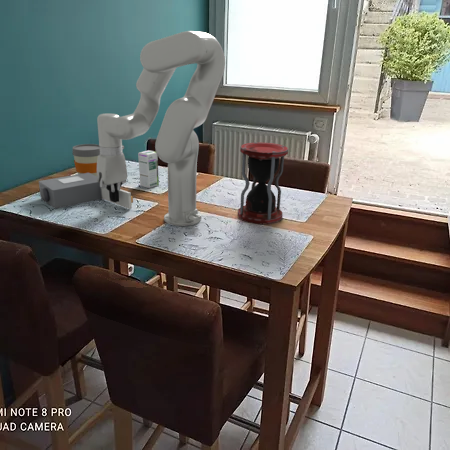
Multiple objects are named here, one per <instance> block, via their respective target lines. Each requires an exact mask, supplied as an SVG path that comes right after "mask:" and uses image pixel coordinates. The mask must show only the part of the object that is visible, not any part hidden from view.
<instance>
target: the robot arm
mask: <svg viewBox="0 0 450 450" xmlns="http://www.w3.org/2000/svg"><path fill="white" fill-rule="evenodd" d="M139 55H140V56H139V59H140V63H141V65H142V67H143V68H142V71H141V72H140V75H139V77H138V78H137V80H136V84H135V85H136V86H135V87H136V89H137V90H138V91H139V92H140V97H139V98H140V99H139V102H138V104H137V105H136V108H135V109H134V111H133V113H130V114H126V115H122V116H120V115H118V114H116V113H106V112H105V113H100V114H98V116H97V119H96V120H97V133H98V145H99V147H100V155H98V159H97V181H98V182H99V183H100V188H103V189H107V190H108V191H109V197H110V201H112V202H119V190H120V189H121V188H122V186H123V185H124V184H126V183H127V179H128V169H127V160H126V157H125V154H124V152H123V150H124V149H125V146H124V145H123V141H124V140H125V141H126V140H127V141H128V140H131V139H132V140H133V139H134V138H136V137H140V136H142V135H144V134H146V133H147V132H148V131H149V129H150V128H151V126H152V124H153V122H154V121H155V119H156V117H157V115H158V112H159V110H160V105H161V98H162V95H163V93H164V92H165V89H166V88H167V86H168V83H169V82H170V80H171V78H172V77H173V75H174V74H175V71H176V69H177V68H180V67H184V66H188V65H193V64H197V65H196V69H195V70H194V72H193V74H192V76H191V78H190V80H189V83H188V86H187V89H186V91H185V93H184V95H183V97H180V98H177V99H175V100H174V101H172V102H171V103H170V105H169V106H168V107H167V109H166V111H165V114H164V117H163V120H162V122H161V126H160V128H159V130H158V134H157V137H156V139H155V144H154V145H155V146H154V147H155V152H156V153H157V155H158V158H159V159H160V160H161V161H162V162H164V163H167V202H168V203H167V204H168V206H167V207H168V212H167V213H166V214H164V216H163V219H164V222H165V223H166V224H169V225H171V226H176V227H177V226H178V227H187V226H194V225H197V224H198V223H199V222H201V220H202V215H201V214H200V213H199V211H198V209H197V171H198V170H197V167H198V165H197V164H198V163H197V162H198V155H199V149H200V148H199V147H200V145H199V144H200V141H199V137H198V135H197V133H196V131H195V130H194V129H196V128H198V127H200V126H201V125H202V124H204V123H205V122H206V120H207V118H208V115H209V113H210V109H211V107H212V105H213V102H214V99H215V97H216V94H217V92H218V89H219V86H220V83H221V81H222V79H223V75H224V72H225V68H226V67H225V66H226V59H225V58H226V56H225V52H224V50H223V48H222V45H221V43H220V42H219V41H218V40H217V38H216V37H214V36H213V35H211V34H210V33H207V32H204V31H194V30H185V31H181V32H178V33H175V34H171V35H168V36H165V37H162V38H159V39H156V40H152V41H150V42H148V43H146V44H145V45H144V46H143V47H142V49H141V51H140V54H139ZM112 202H111V203H112Z"/></svg>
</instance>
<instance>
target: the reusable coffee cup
mask: <svg viewBox="0 0 450 450" xmlns="http://www.w3.org/2000/svg"><path fill="white" fill-rule="evenodd" d="M98 155H100V147H99V144H96V143H83V144H77V145H74V146H72V156H73V158H74V160H73V163H74V167H75V172H77V174H83V173H91V174H93V175H95V176H97V159H98Z"/></svg>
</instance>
